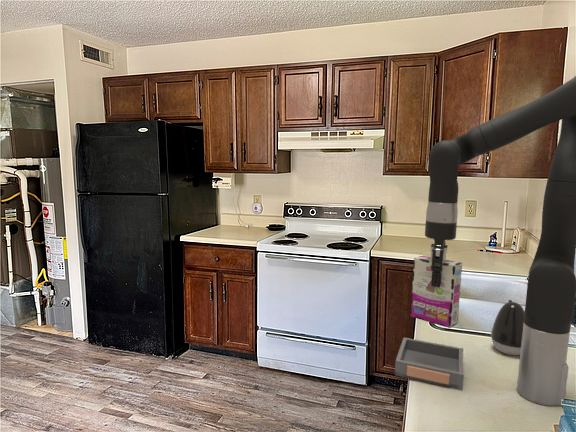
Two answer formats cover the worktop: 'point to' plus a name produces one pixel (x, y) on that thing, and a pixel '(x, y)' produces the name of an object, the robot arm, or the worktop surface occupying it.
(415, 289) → the candy bar box
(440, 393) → the worktop surface
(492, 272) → the worktop surface
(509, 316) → the black rounded cone
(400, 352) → the labelled tray
